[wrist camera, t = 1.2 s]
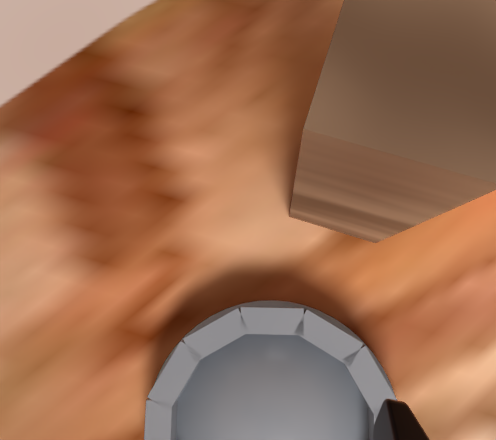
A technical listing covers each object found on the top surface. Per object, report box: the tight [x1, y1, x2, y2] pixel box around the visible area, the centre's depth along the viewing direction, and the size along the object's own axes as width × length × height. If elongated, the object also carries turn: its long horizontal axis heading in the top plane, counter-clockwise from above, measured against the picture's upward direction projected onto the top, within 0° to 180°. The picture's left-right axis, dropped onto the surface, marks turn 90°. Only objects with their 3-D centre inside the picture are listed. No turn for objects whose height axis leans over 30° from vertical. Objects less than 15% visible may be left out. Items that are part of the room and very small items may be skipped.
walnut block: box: [289, 0, 496, 243], centre depth 17 cm, size 5×5×13 cm
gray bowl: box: [144, 300, 397, 440], centre depth 21 cm, size 12×12×2 cm
